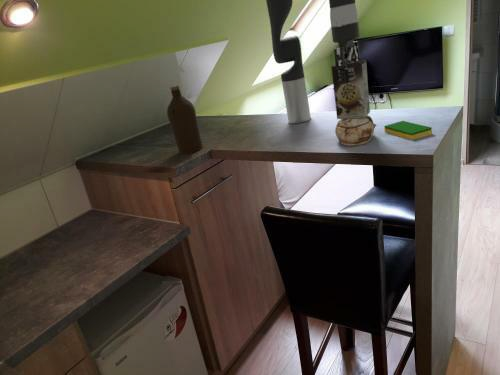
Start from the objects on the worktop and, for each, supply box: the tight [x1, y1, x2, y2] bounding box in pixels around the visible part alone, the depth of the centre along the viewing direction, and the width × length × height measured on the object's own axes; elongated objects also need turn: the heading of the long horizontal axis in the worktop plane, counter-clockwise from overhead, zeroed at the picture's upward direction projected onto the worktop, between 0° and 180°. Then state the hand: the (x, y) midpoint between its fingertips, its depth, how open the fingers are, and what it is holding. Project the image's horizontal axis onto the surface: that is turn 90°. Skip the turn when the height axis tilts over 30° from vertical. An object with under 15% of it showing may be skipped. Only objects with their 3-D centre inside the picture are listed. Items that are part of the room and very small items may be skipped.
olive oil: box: [166, 85, 204, 155], centre depth 150 cm, size 11×11×25 cm
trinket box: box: [334, 114, 377, 147], centre depth 124 cm, size 13×15×8 cm
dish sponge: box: [383, 120, 433, 141], centre depth 120 cm, size 7×14×2 cm, turn 15°
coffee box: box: [330, 59, 371, 120], centre depth 119 cm, size 9×6×16 cm
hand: (350, 80), depth 118 cm, fingers open, 8 cm apart
